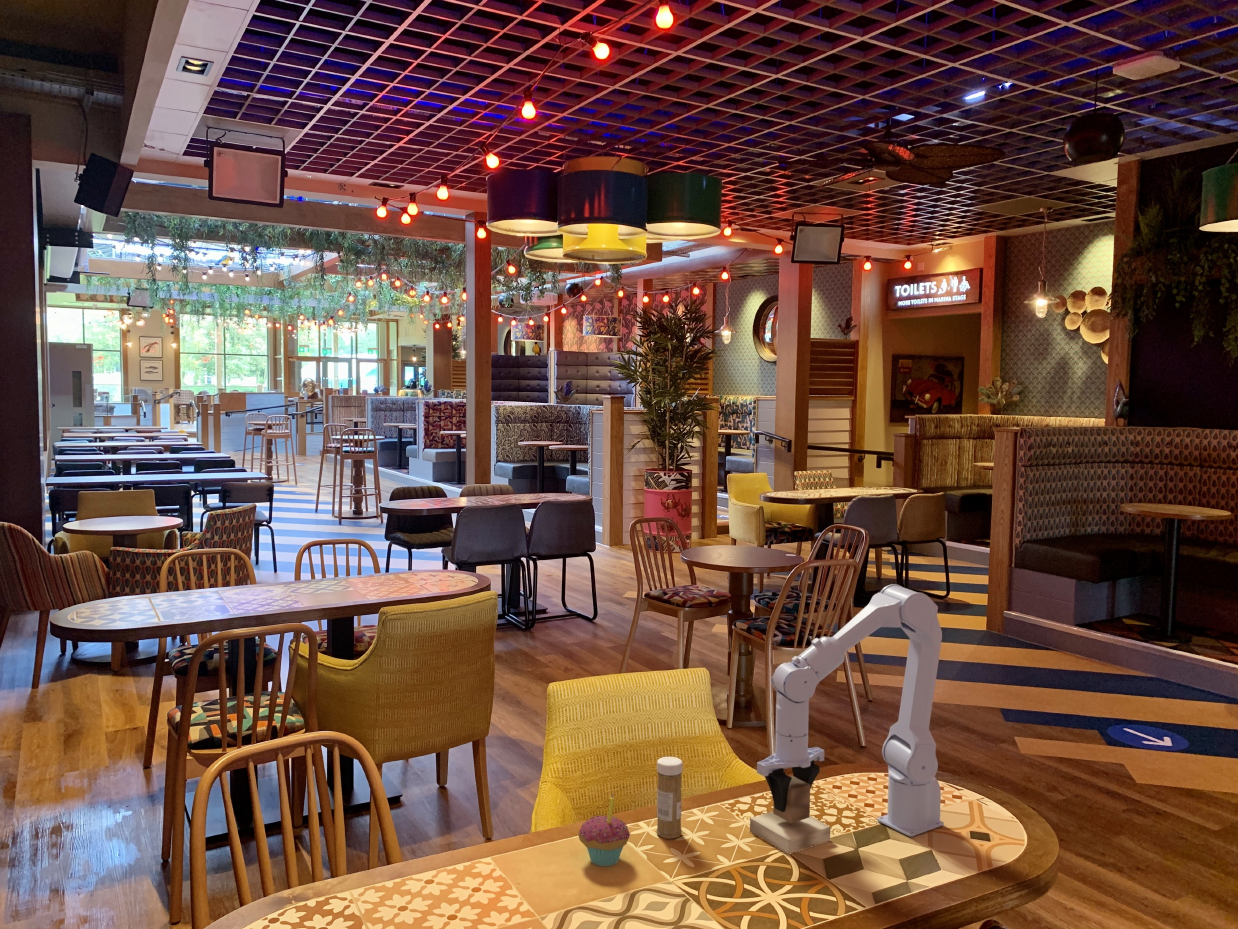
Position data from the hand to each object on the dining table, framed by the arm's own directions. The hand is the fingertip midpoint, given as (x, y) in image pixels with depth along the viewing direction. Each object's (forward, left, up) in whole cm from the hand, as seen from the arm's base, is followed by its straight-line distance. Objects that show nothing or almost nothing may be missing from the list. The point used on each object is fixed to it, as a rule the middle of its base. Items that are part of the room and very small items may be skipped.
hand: (790, 806), depth 162 cm
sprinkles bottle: (+18, -12, -6) cm, 22 cm away
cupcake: (+33, -10, -6) cm, 35 cm away
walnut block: (0, 0, -2) cm, 2 cm away
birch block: (0, 0, -6) cm, 6 cm away
